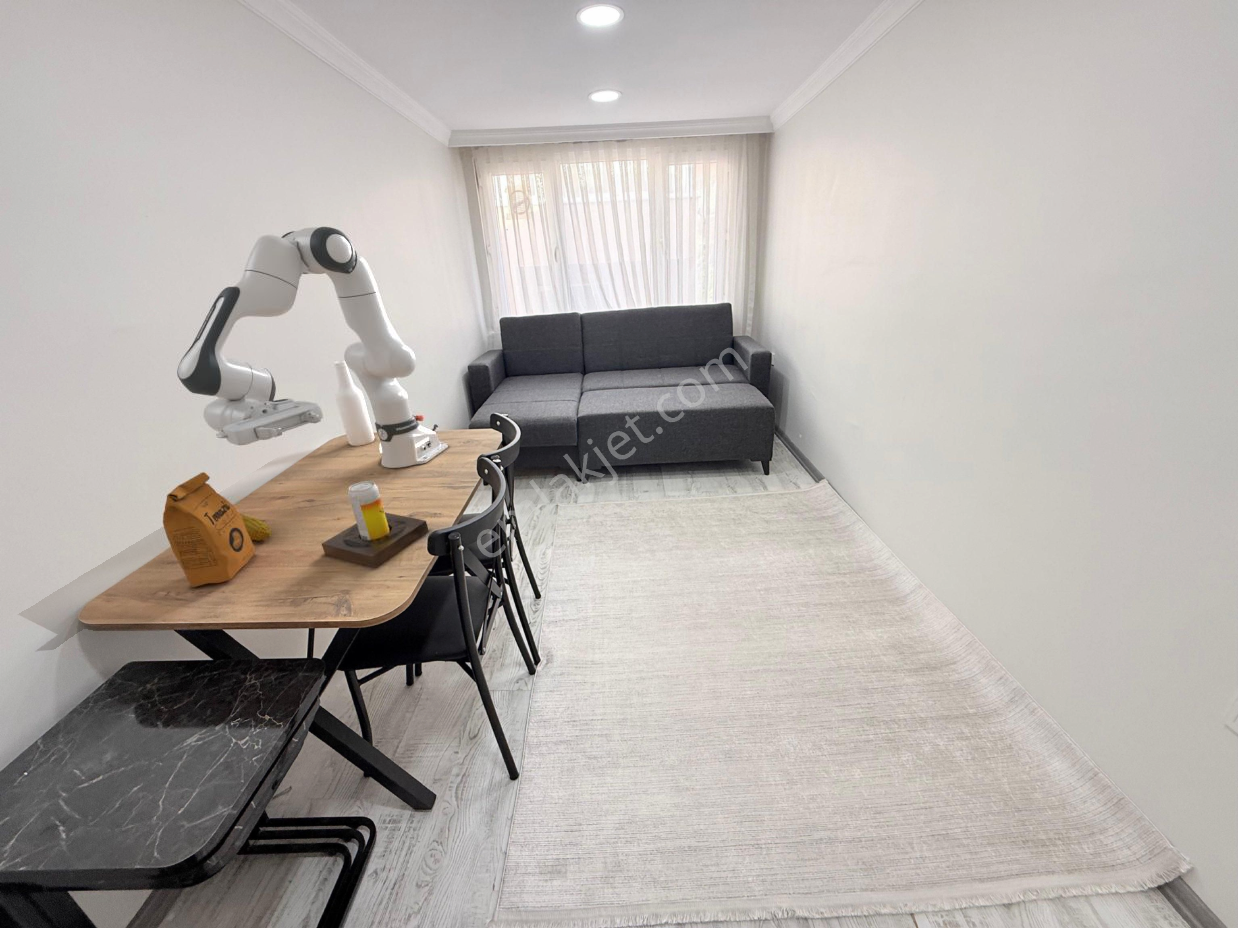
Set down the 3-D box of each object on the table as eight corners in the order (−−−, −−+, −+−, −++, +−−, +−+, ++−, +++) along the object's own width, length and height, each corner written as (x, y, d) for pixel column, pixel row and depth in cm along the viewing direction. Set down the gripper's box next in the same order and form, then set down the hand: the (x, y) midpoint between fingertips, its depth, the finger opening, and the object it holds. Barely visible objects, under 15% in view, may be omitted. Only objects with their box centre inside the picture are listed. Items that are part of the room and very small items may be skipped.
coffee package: (266, 553, 115) (231, 467, 106) (232, 586, 103) (190, 492, 95) (222, 557, 114) (183, 470, 106) (182, 590, 103) (135, 497, 94)
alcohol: (366, 436, 189) (345, 358, 177) (380, 440, 184) (358, 359, 173) (344, 444, 182) (320, 363, 170) (357, 447, 178) (334, 365, 166)
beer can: (397, 537, 118) (382, 481, 112) (379, 551, 113) (362, 493, 107) (376, 534, 120) (360, 479, 114) (358, 548, 114) (340, 491, 108)
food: (205, 534, 125) (196, 514, 122) (228, 523, 129) (220, 503, 127) (262, 547, 117) (253, 525, 115) (284, 535, 122) (276, 514, 120)
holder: (380, 521, 126) (377, 510, 125) (428, 531, 120) (426, 520, 119) (325, 554, 113) (321, 543, 112) (376, 568, 107) (372, 556, 106)
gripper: (206, 421, 106) (246, 427, 101) (295, 396, 123) (333, 399, 118) (217, 448, 109) (256, 455, 104) (303, 420, 126) (341, 424, 121)
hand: (298, 425), depth 111 cm, fingers open, 8 cm apart
